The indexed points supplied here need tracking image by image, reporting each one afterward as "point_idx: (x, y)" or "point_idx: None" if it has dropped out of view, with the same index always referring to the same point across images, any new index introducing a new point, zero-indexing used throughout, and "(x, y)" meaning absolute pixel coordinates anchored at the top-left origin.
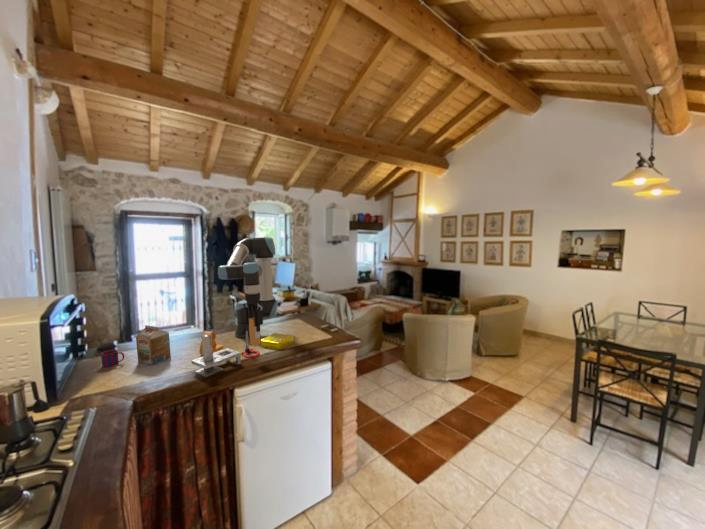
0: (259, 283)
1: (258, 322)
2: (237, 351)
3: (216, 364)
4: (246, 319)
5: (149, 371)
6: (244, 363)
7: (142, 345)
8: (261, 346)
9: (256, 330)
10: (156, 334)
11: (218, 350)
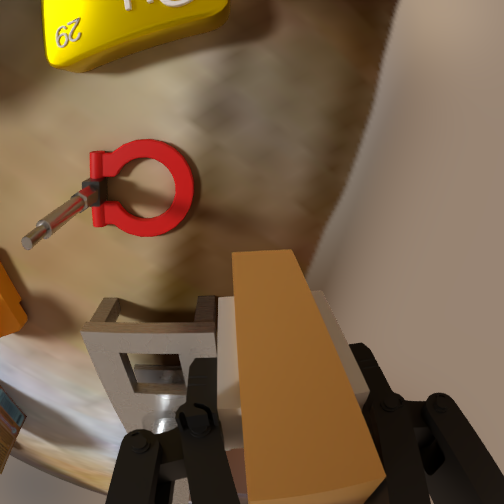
0: None
1: (430, 458)
2: (181, 333)
3: None
4: (165, 500)
5: (60, 434)
6: (226, 282)
7: None
8: (81, 72)
9: None
10: None
11: (1, 277)
